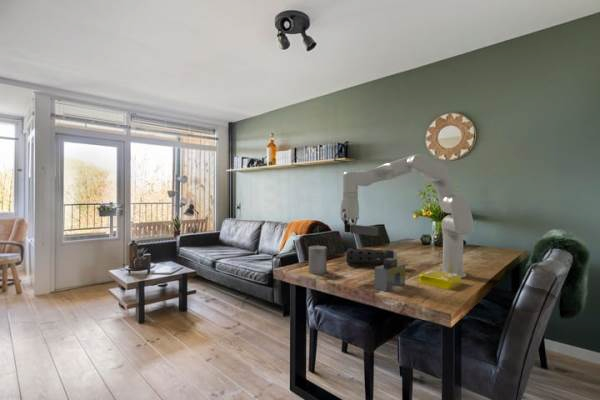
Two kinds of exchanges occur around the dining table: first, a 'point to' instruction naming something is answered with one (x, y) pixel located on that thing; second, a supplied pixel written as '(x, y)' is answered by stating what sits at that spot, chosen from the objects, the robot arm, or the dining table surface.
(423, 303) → the dining table surface
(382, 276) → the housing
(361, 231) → the grey and white bar
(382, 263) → the muzzle brake
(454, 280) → the element tile
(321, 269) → the pillar candle
